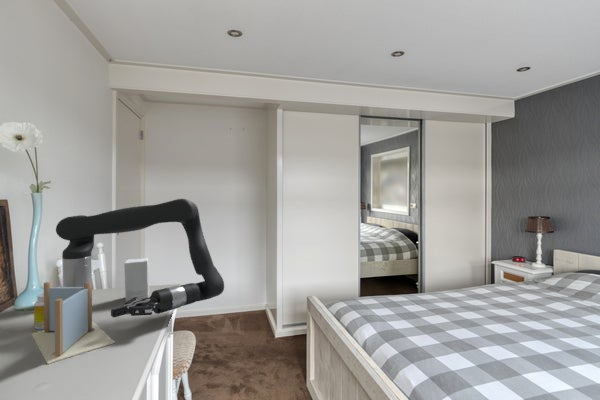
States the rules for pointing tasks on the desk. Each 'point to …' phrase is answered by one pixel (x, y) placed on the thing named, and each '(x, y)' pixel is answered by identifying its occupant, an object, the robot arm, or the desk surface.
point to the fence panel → (70, 320)
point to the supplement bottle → (39, 312)
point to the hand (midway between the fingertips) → (111, 313)
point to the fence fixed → (63, 293)
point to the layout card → (82, 345)
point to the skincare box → (136, 278)
